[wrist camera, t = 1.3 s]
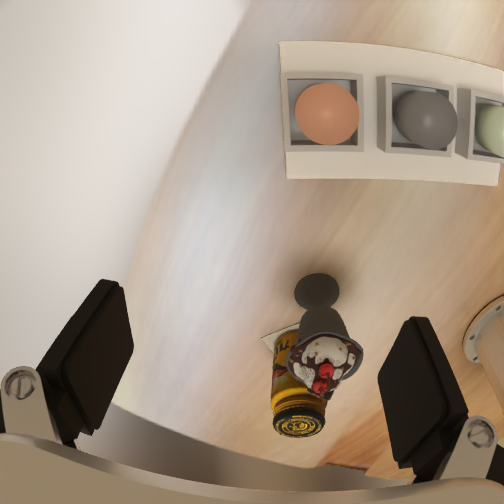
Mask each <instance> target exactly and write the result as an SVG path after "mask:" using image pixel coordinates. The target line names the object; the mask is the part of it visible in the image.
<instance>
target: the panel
mask: <svg viewBox="0 0 504 504" xmlns="http://www.w3.org/2000/svg"><path fill="white" fill-rule="evenodd" d="M279 48H280V62H281V73H280V81H281V97H282V114H283V133H284V152H286V174H287V179H392V180H417V181H436V182H452V183H466V184H478V185H489V186H497V185H498V178H499V171H500V164H504V158H503V157H501V156H499V155H496V154H494V153H492V152H490V151H488V150H485V149H484V148H483V147H482V146H481V145H480V144H479V143H478V141H477V139H476V136H475V132H474V127H475V117H476V114H477V112H478V111H479V109H480V108H481V107H483V106H484V105H488V104H492V105H497V106H502V107H504V71H502V70H498V69H495V68H492V67H489V66H485V65H482V64H478V63H474V62H471V61H467V60H463V59H459V58H454V57H450V56H445V55H440V54H436V53H430V52H425V51H419V50H413V49H407V48H400V47H392V46H384V45H375V44H364V43H351V42H332V41H279ZM321 83H332V84H336V85H339V86H341V87H343V88H344V89H346V90H347V91H348V92H350V93H351V95H352V96H353V97H354V99H355V100H356V102H357V105H358V108H359V123H358V126H357V128H356V130H355V132H354V133H353V134H352V136H351V137H349V138H348V139H347V140H345V141H344V142H342V143H339V144H335V145H323V144H319V143H316V142H314V141H312V140H311V139H309V138H308V137H307V136H306V135H305V134H304V133H303V132H302V131H301V129H300V127H299V125H298V123H297V121H296V119H295V114H294V106H295V102H296V99H297V97H298V96H299V94H300V93H301V92H302V91H303V90H304V89H306V88H307V87H309V86H312V85H315V84H321ZM409 91H427V92H435V93H439V94H441V95H443V96H444V97H446V98H447V99H448V100H449V101H450V102H451V103H452V105H453V107H454V109H455V111H456V114H457V119H458V127H457V132H456V135H455V137H454V139H453V140H452V142H451V143H450V144H449V145H448V146H446V147H444V148H442V149H439V150H429V149H426V148H424V147H422V146H420V145H418V144H416V143H414V142H412V141H410V140H408V139H406V138H405V137H404V136H403V135H402V134H401V133H400V132H399V131H398V129H397V127H396V124H395V121H394V109H395V105H396V103H397V101H398V100H399V98H400V97H401V96H402V95H403V94H405V93H407V92H409Z"/></svg>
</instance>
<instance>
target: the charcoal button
mask: <svg viewBox="0 0 504 504" xmlns="http://www.w3.org/2000/svg"><path fill="white" fill-rule="evenodd" d="M394 121H395V124H396V127H397V129H398V131H399V132H400V133H401V134H402V135H403V136H404V137H405V138H406V139H408V140H410V141H412V142H414V143H416V144H418V145H420V146H422V147H424V148H426V149H429V150H439V149H442V148H444V147H446V146H448V145H449V144H450V143H451V142H452V140H453V139H454V137H455V135H456V132H457V127H458V119H457V114H456V111H455V109H454V107H453V105H452V103H451V102H450V101H449V100H448V99H447V98H446V97H444V96H443V95H441V94H439V93H435V92H427V91H409V92H407V93H405V94H403V95H402V96H401V97H400V98H399V100H398V101H397V103H396V105H395V109H394Z"/></svg>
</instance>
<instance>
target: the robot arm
mask: <svg viewBox="0 0 504 504" xmlns="http://www.w3.org/2000/svg"><path fill="white" fill-rule="evenodd" d="M133 349H134V343H133V338H132V333H131V328H130V323H129V318H128V312H127V307H126V301H125V295H124V290H123V287H120V286H119V283H118V282H116V281H111V280H105V279H101V280H100V281H99V282H98V283H97V284H96V286H95V287H94V288H93V290H92V291H91V292H90V294H89V295H88V296H87V297H86V299H85V300H84V302H83V303H82V304H81V306H80V307H79V308H78V310H77V311H76V312H75V314H74V315H73V316H72V317H71V318H70V320H69V321H68V322H67V324H66V325H65V327H64V328H63V329H62V331H61V332H60V334H59V335H58V337H57V338H56V339H55V341H54V342H53V344H52V345H51V347H50V348H49V350H48V351H47V353H46V354H45V356H44V357H43V359H42V360H41V362H40V363H39V365H38V367H37V368H36V370H35V369H33V368H31V367H27V366H20V367H16V368H14V369H12V370H10V371H9V372H8V373H7V374H6V375H5V376H4V377H3V380H2V382H1V389H0V504H504V448H503V447H501V446H499V445H498V444H497V439H498V436H497V431H496V429H495V426H494V425H493V424H492V422H491V421H489V420H488V419H487V418H485V417H482V416H472V417H470V418H469V417H468V415H467V413H468V412H469V411H468V408H467V406H466V403H465V401H464V398H463V395H462V393H461V390H460V388H459V385H458V383H457V381H456V378H455V376H454V373H453V371H452V369H451V366H450V364H449V362H448V360H447V357H446V355H445V353H444V351H443V348H442V346H441V344H440V342H439V340H438V338H437V335H436V333H435V331H434V329H433V327H432V325H431V323H430V321H429V319H428V318H427V317H415V316H412V317H410V318H409V320H406V321H405V322H404V324H403V326H402V328H401V330H400V332H399V334H398V336H397V338H396V340H395V342H394V344H393V346H392V348H391V350H390V352H389V354H388V356H387V358H386V360H385V362H384V364H383V365H382V367H381V369H380V371H379V373H378V385H379V389H380V394H381V398H382V403H383V407H384V412H385V417H386V421H387V426H388V431H389V437H390V442H391V447H392V453H393V458H394V460H395V461H396V462H398V466H399V469H403V468H410V467H413V472H414V474H413V475H412V477H411V479H410V480H409V482H408V484H407V485H403V486H395V487H386V488H377V489H367V490H355V491H337V492H288V491H267V490H255V489H244V488H235V487H227V486H219V485H213V484H206V483H200V482H194V481H189V480H183V479H179V478H174V477H169V476H164V475H160V474H156V473H152V472H148V471H144V470H140V469H137V468H133V467H129V466H126V465H122V464H119V463H116V462H112V461H109V460H106V459H103V458H100V457H97V456H94V455H91V454H88V453H85V452H82V451H81V450H80V447H79V445H78V442H77V438H78V435H79V433H80V432H82V433H84V434H87V435H90V436H92V434H93V432H94V429H96V430H97V429H99V428H100V426H101V424H102V421H103V419H104V416H105V414H106V412H107V409H108V407H109V405H110V402H111V400H112V398H113V396H114V393H115V391H116V389H117V387H118V384H119V382H120V380H121V378H122V375H123V373H124V371H125V369H126V367H127V364H128V362H129V360H130V358H131V356H132V353H133ZM463 351H464V353H465V355H466V357H467V358H468V360H470V361H471V362H474V363H481V364H482V366H483V368H484V370H485V372H486V375H487V377H488V379H489V381H490V383H491V385H492V387H493V390H494V392H495V394H496V396H497V399H498V401H499V403H500V406H501V408H502V410H503V413H504V296H502V297H500V298H498V299H496V300H495V301H493V302H492V303H490V304H489V305H488V306H487V307H485V308H484V309H483V310H482V311H481V312H480V313H479V314H478V315H477V316H476V318H475V319H474V320H473V322H472V323H471V325H470V326H469V328H468V330H467V332H466V334H465V337H464V340H463Z"/></svg>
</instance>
